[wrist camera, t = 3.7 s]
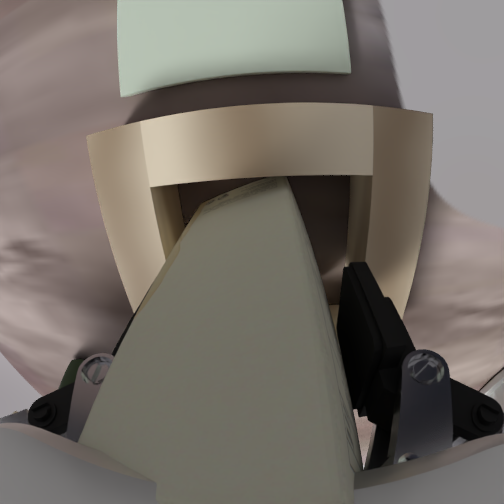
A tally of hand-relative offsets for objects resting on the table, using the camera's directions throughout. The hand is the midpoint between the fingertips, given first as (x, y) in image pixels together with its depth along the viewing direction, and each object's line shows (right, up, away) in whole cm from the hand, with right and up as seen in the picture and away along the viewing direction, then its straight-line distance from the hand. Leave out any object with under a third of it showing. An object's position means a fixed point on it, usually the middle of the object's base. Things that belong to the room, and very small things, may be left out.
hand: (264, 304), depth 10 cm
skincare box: (0, +2, +4) cm, 5 cm away
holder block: (0, +2, +4) cm, 5 cm away
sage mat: (-2, +14, -2) cm, 14 cm away
